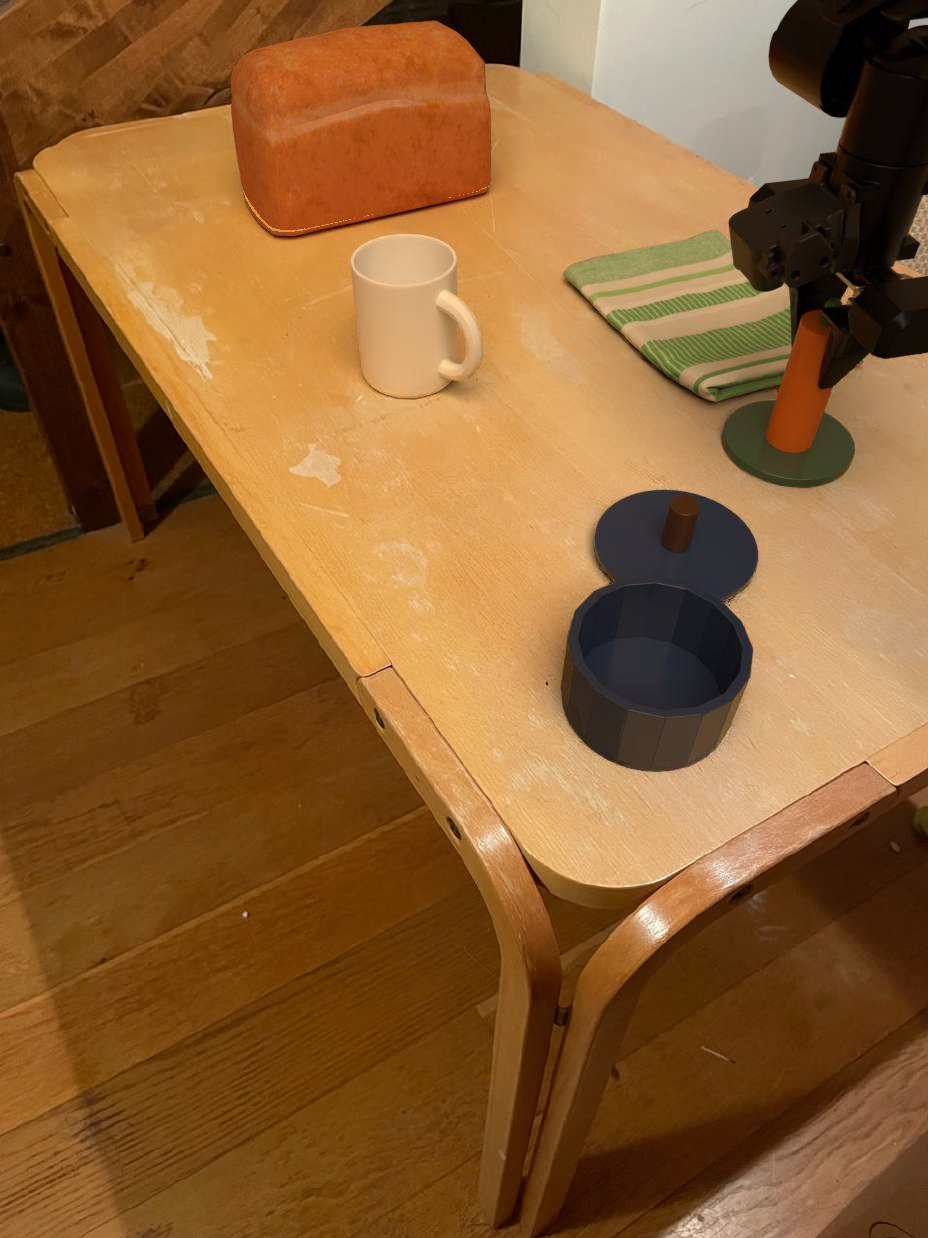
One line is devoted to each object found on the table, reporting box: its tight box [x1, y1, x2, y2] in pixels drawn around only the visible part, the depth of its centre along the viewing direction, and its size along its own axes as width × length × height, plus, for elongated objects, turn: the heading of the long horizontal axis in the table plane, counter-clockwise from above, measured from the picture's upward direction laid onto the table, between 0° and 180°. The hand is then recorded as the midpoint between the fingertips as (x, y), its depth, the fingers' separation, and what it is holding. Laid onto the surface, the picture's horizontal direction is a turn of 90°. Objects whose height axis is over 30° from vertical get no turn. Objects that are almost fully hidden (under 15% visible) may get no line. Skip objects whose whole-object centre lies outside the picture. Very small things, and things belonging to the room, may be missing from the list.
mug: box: [349, 233, 484, 399], centre depth 72 cm, size 12×8×10 cm
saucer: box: [721, 399, 856, 488], centre depth 70 cm, size 10×10×1 cm
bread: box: [229, 20, 492, 237], centre depth 93 cm, size 14×26×16 cm, turn 116°
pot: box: [560, 576, 754, 773], centre depth 52 cm, size 10×10×6 cm
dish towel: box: [562, 228, 865, 403], centre depth 81 cm, size 18×23×3 cm
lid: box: [593, 489, 759, 603], centre depth 61 cm, size 11×11×5 cm
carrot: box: [765, 298, 843, 453], centre depth 65 cm, size 4×4×12 cm
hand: (811, 372), depth 65 cm, fingers closed on carrot, 3 cm apart
